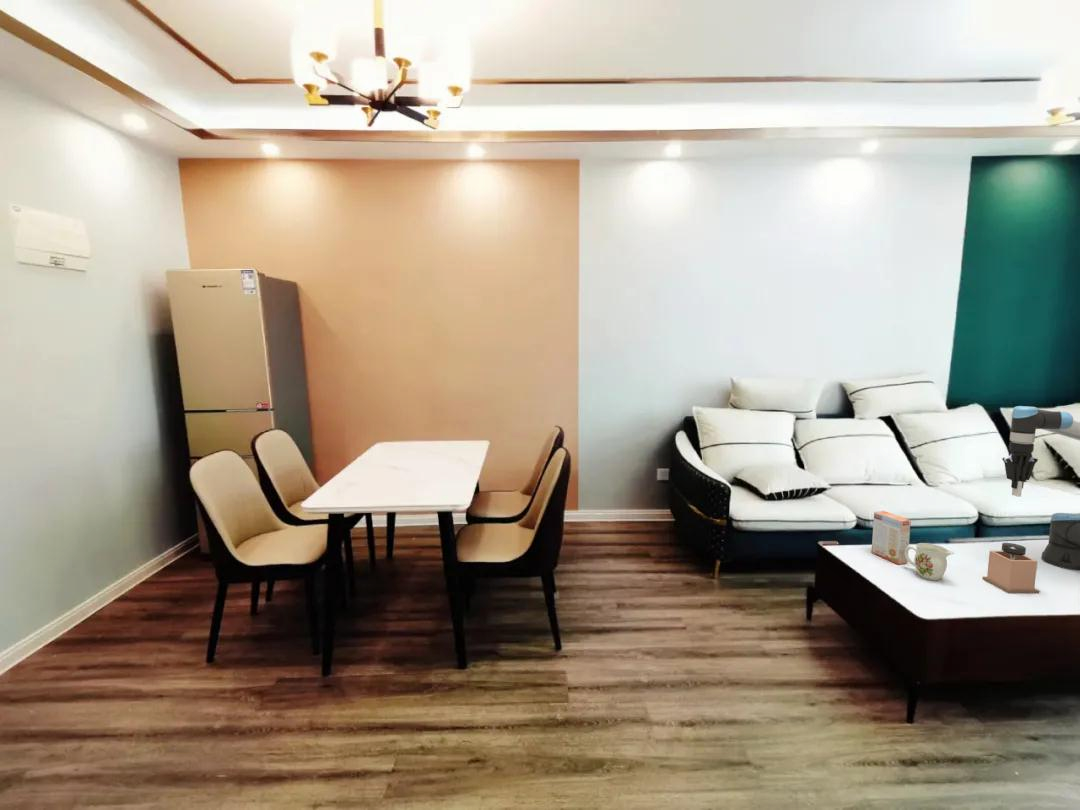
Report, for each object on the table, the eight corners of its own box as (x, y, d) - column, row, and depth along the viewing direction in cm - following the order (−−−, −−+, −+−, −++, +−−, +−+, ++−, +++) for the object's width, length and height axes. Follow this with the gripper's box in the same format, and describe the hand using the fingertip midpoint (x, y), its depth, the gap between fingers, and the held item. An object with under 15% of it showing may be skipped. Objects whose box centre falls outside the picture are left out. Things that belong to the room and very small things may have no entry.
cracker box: (908, 563, 223) (911, 519, 220) (897, 565, 222) (900, 521, 219) (881, 551, 236) (884, 510, 234) (870, 552, 235) (873, 511, 233)
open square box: (1011, 579, 207) (1014, 549, 205) (1039, 593, 195) (1042, 562, 193) (982, 579, 207) (985, 549, 206) (1008, 593, 195) (1011, 562, 194)
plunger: (1011, 577, 204) (1014, 542, 203) (1028, 585, 197) (1032, 550, 195) (992, 577, 205) (996, 542, 203) (1009, 585, 197) (1012, 549, 195)
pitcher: (911, 565, 221) (913, 536, 220) (958, 582, 205) (960, 550, 204) (896, 569, 217) (898, 540, 215) (943, 587, 201) (946, 555, 199)
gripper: (1029, 440, 211) (1023, 493, 214) (998, 440, 212) (993, 493, 215) (1046, 443, 204) (1040, 498, 207) (1014, 444, 204) (1008, 498, 207)
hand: (1016, 495), depth 211 cm, fingers closed
